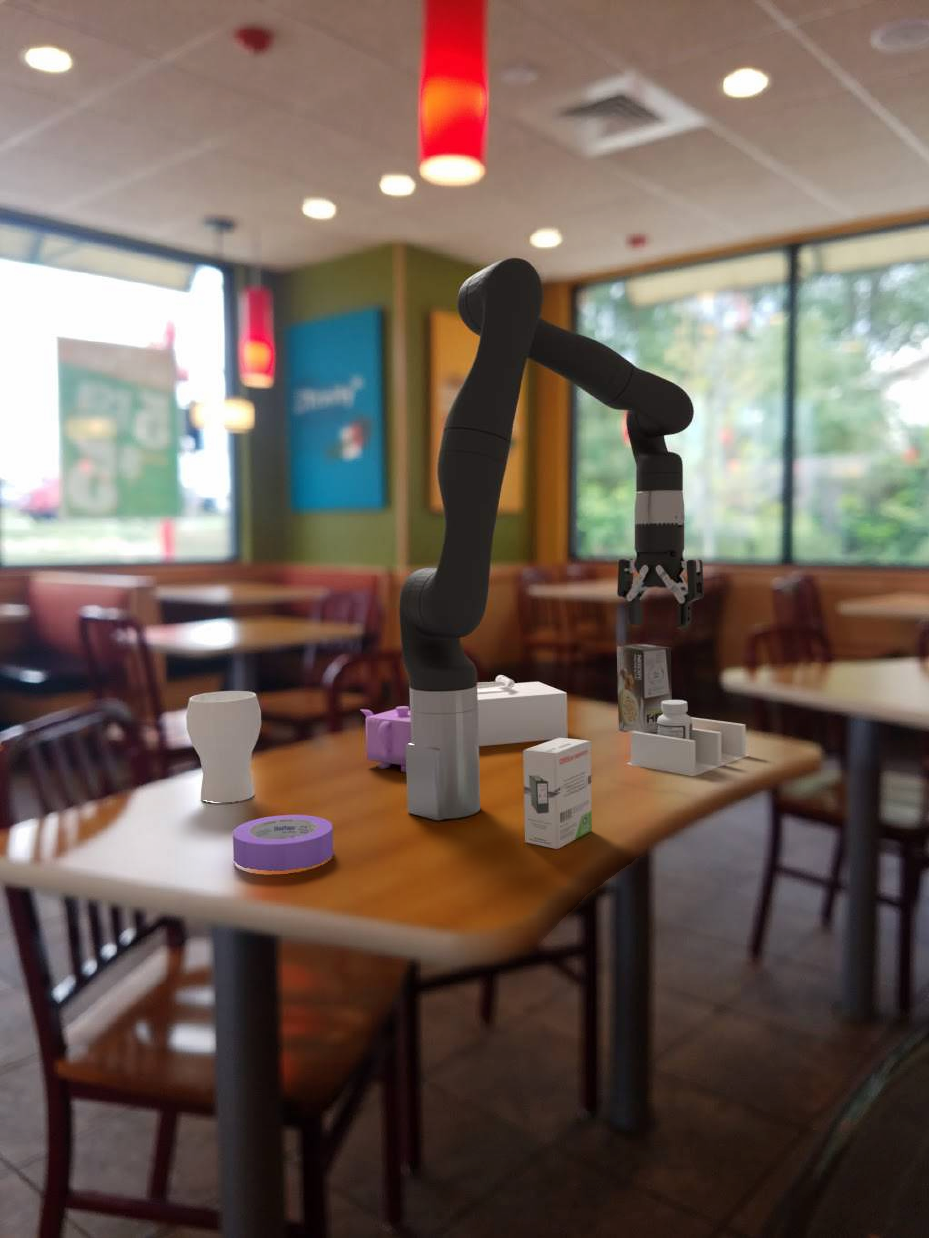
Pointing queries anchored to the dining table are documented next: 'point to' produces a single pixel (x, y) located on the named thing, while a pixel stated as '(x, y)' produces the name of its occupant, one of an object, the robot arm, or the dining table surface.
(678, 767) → the rack
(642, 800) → the dining table surface
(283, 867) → the masking tape
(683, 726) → the pill bottle
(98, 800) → the dining table surface
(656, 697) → the coffee box
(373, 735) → the teapot
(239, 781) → the cup
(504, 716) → the tissue box
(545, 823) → the ink box
